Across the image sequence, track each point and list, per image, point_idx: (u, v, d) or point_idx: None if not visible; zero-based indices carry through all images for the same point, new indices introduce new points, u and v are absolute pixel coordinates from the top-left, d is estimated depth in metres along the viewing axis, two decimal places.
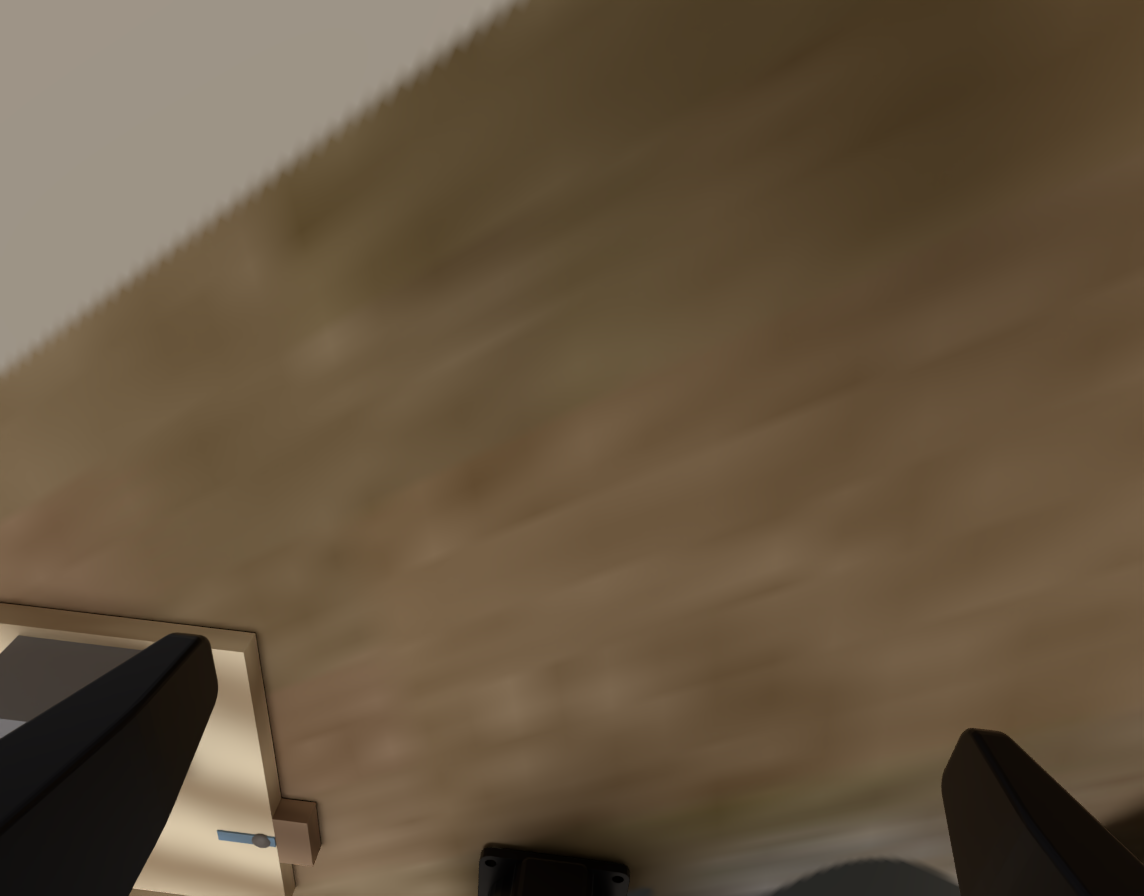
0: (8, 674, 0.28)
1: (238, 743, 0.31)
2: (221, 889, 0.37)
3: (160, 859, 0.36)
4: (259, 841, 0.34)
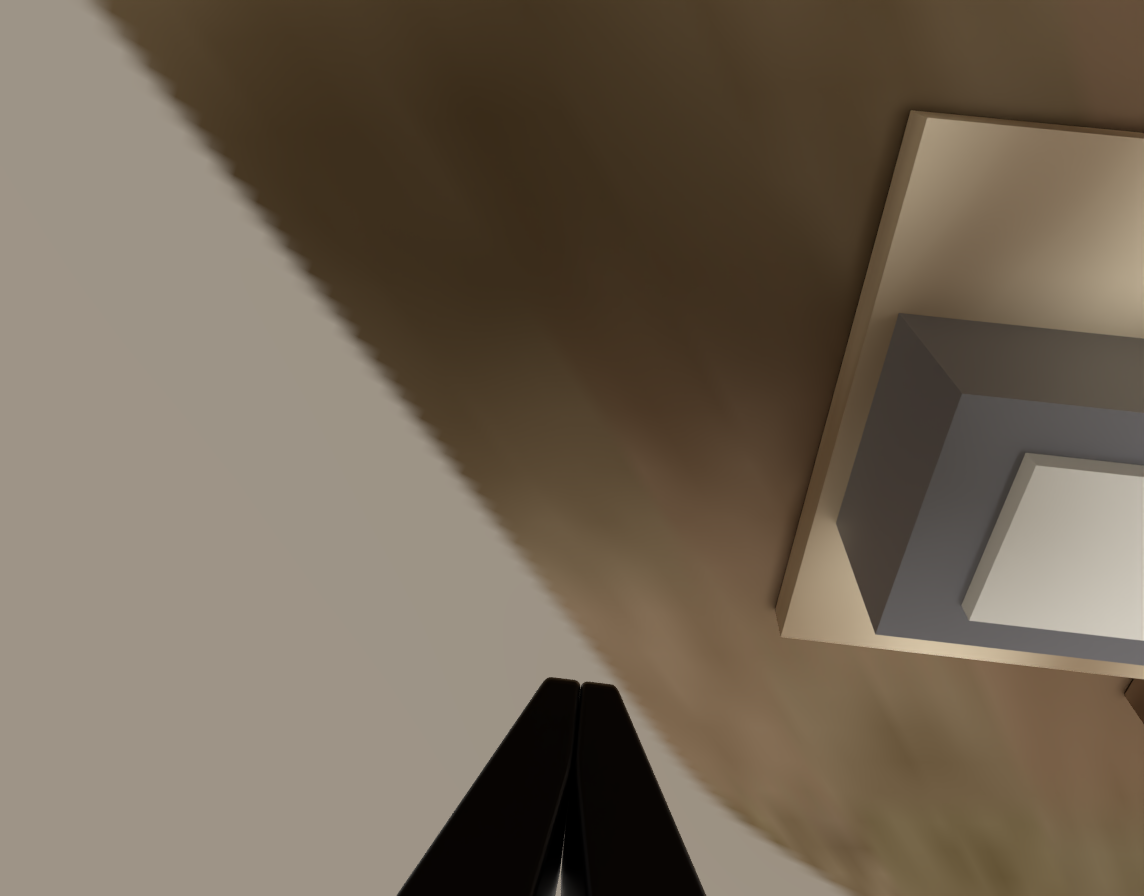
0: (865, 538, 0.16)
1: None
2: None
3: None
4: None
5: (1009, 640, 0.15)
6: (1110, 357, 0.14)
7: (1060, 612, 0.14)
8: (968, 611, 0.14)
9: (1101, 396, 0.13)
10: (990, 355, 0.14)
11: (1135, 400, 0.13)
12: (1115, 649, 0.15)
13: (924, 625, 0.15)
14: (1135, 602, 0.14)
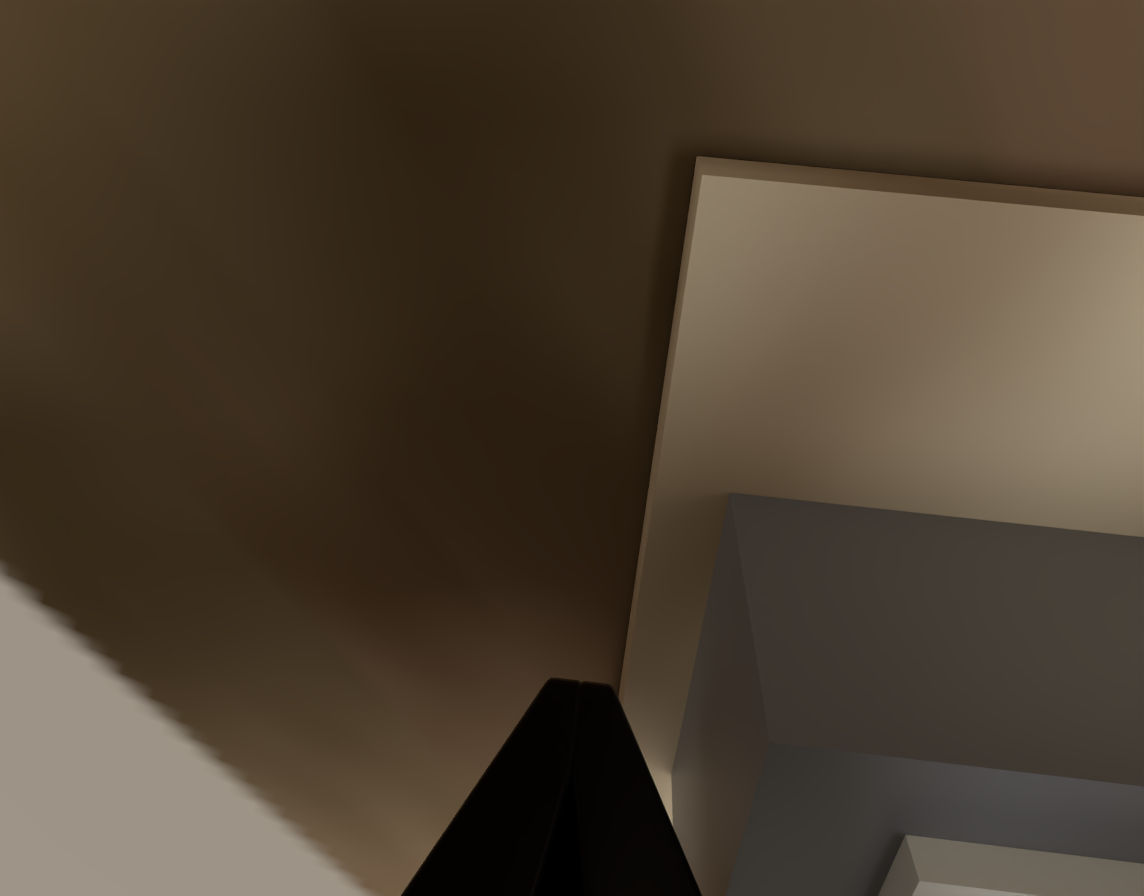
0: (684, 849, 0.10)
1: None
2: None
3: None
4: None
5: None
6: (1078, 596, 0.08)
7: None
8: None
9: (1052, 726, 0.07)
10: (859, 605, 0.08)
11: (1116, 737, 0.07)
12: None
13: None
14: None
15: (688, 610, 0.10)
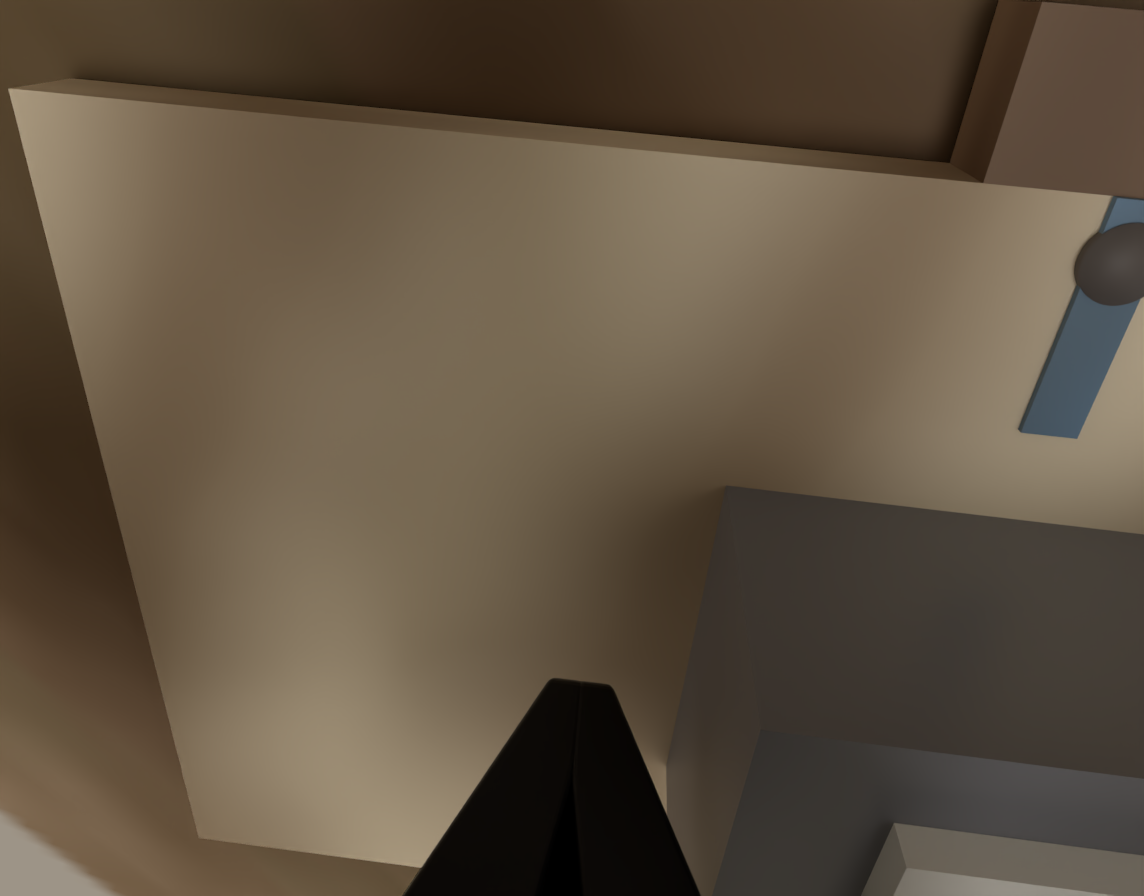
0: (678, 837, 0.10)
1: (505, 225, 0.08)
2: None
3: None
4: (1118, 270, 0.08)
5: None
6: (1070, 590, 0.08)
7: None
8: None
9: (1040, 717, 0.07)
10: (852, 597, 0.08)
11: (1104, 729, 0.07)
12: None
13: None
14: None
15: (168, 534, 0.11)
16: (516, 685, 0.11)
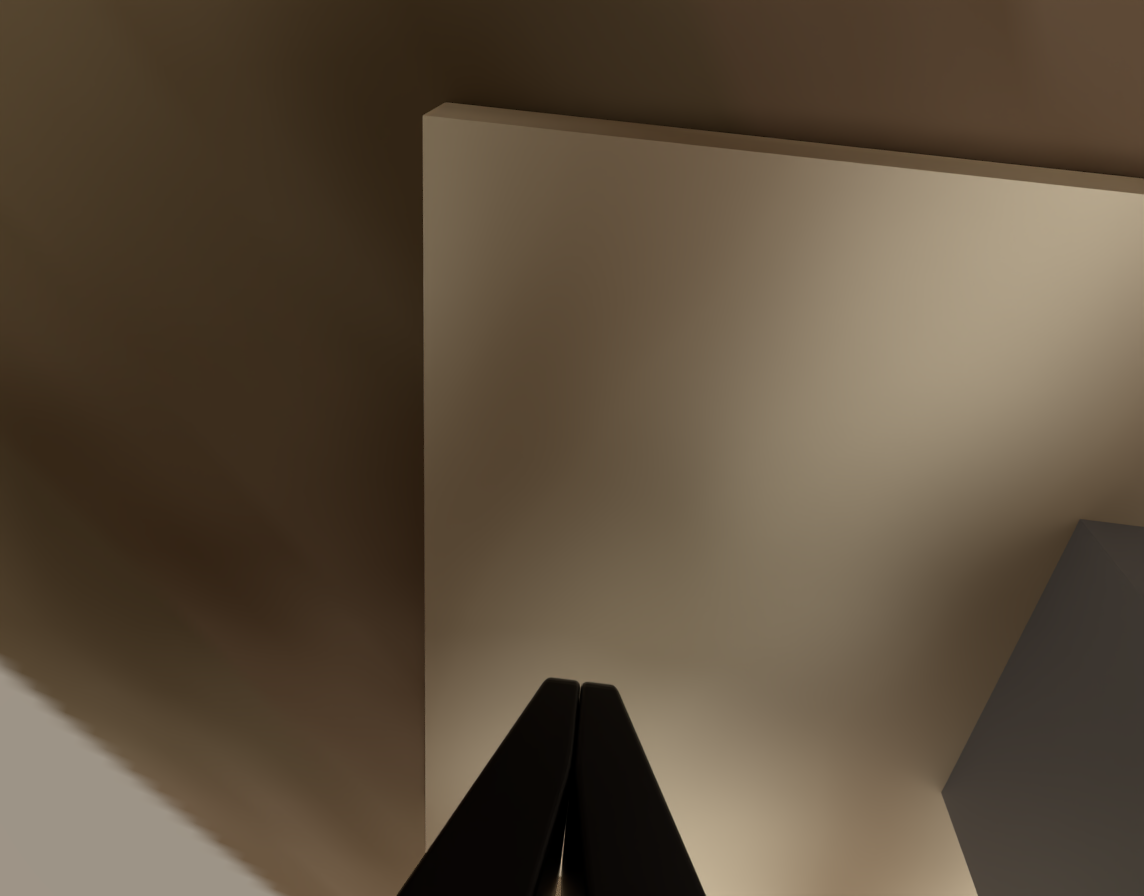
0: (1010, 871, 0.10)
1: (911, 259, 0.08)
2: None
3: None
4: None
5: None
6: None
7: None
8: None
9: None
10: None
11: None
12: None
13: None
14: None
15: (473, 559, 0.10)
16: (800, 711, 0.11)
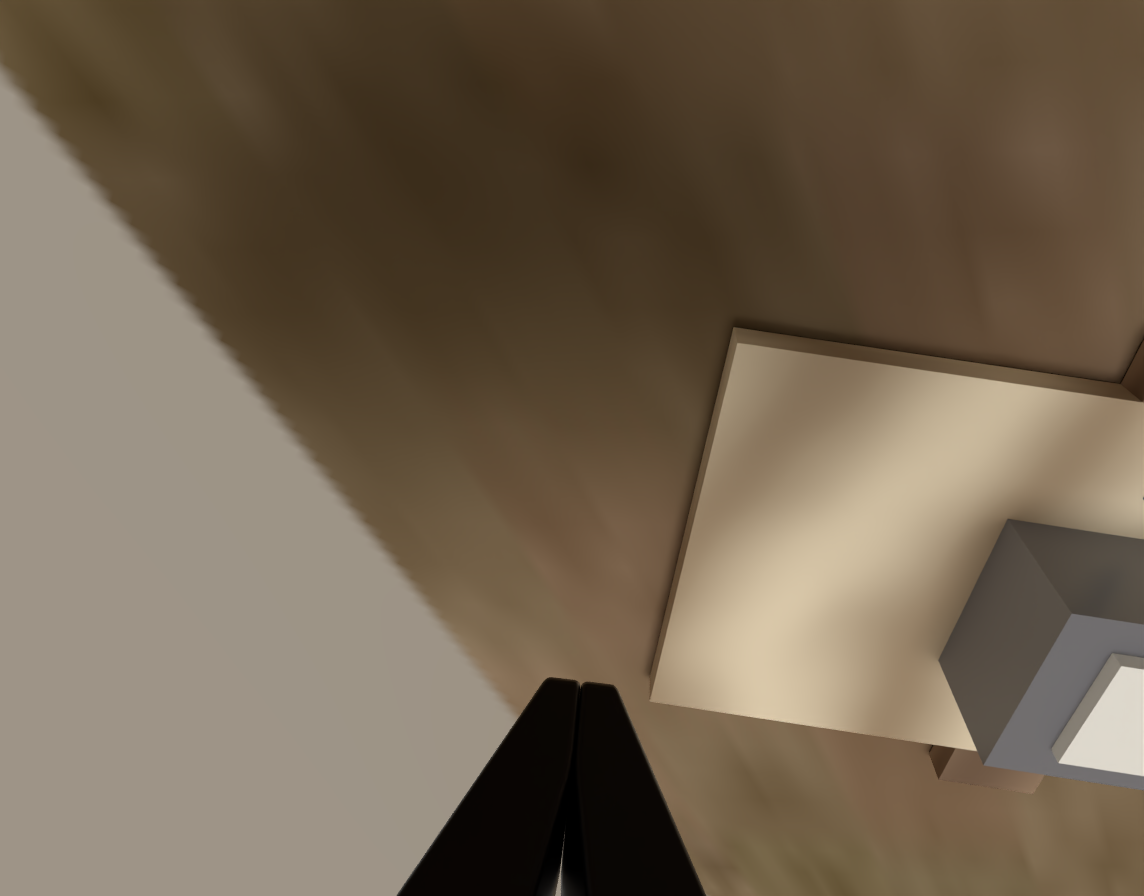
0: (971, 684, 0.21)
1: (936, 406, 0.19)
2: None
3: None
4: None
5: (1083, 774, 0.20)
6: None
7: (1126, 761, 0.19)
8: (1057, 755, 0.19)
9: None
10: (1083, 569, 0.19)
11: None
12: None
13: (1021, 761, 0.20)
14: None
15: (716, 531, 0.21)
16: (869, 614, 0.22)
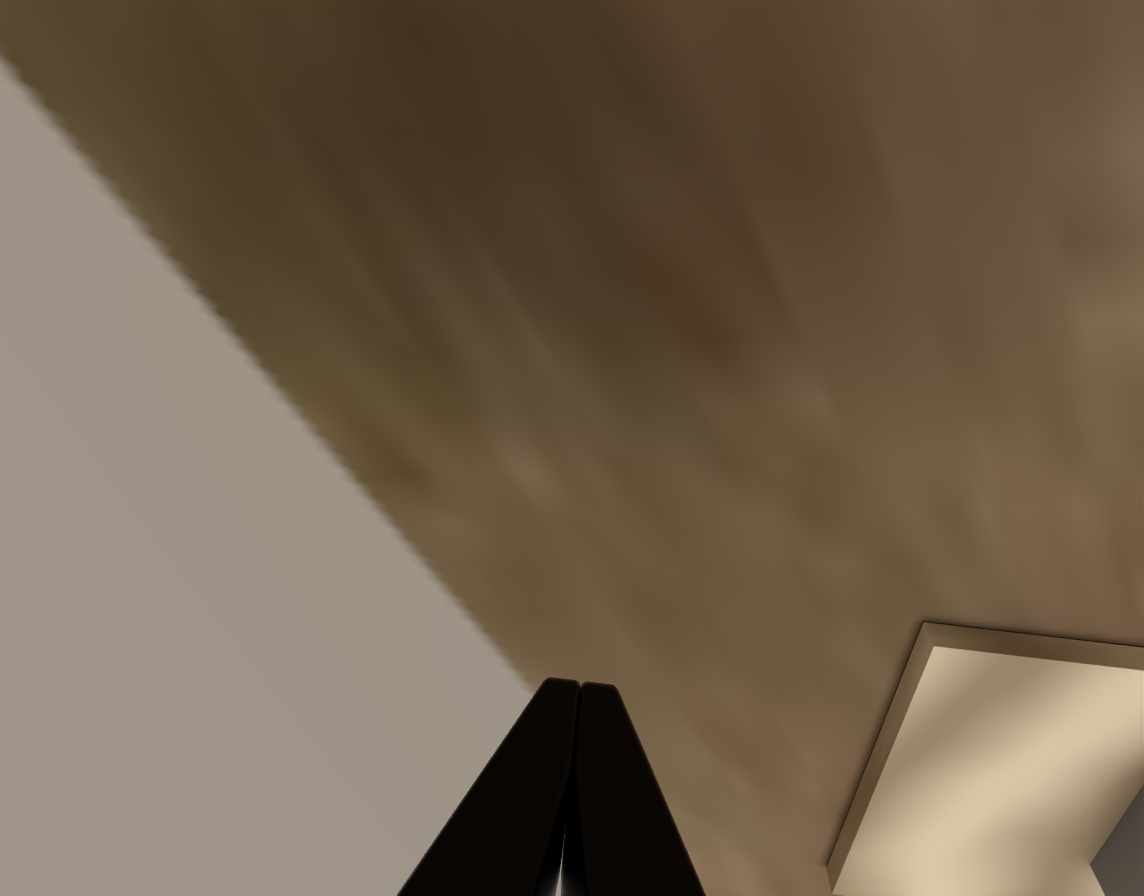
0: None
1: (1100, 689, 0.23)
2: None
3: None
4: None
5: None
6: None
7: None
8: None
9: None
10: None
11: None
12: None
13: None
14: None
15: (903, 773, 0.25)
16: (1031, 831, 0.26)
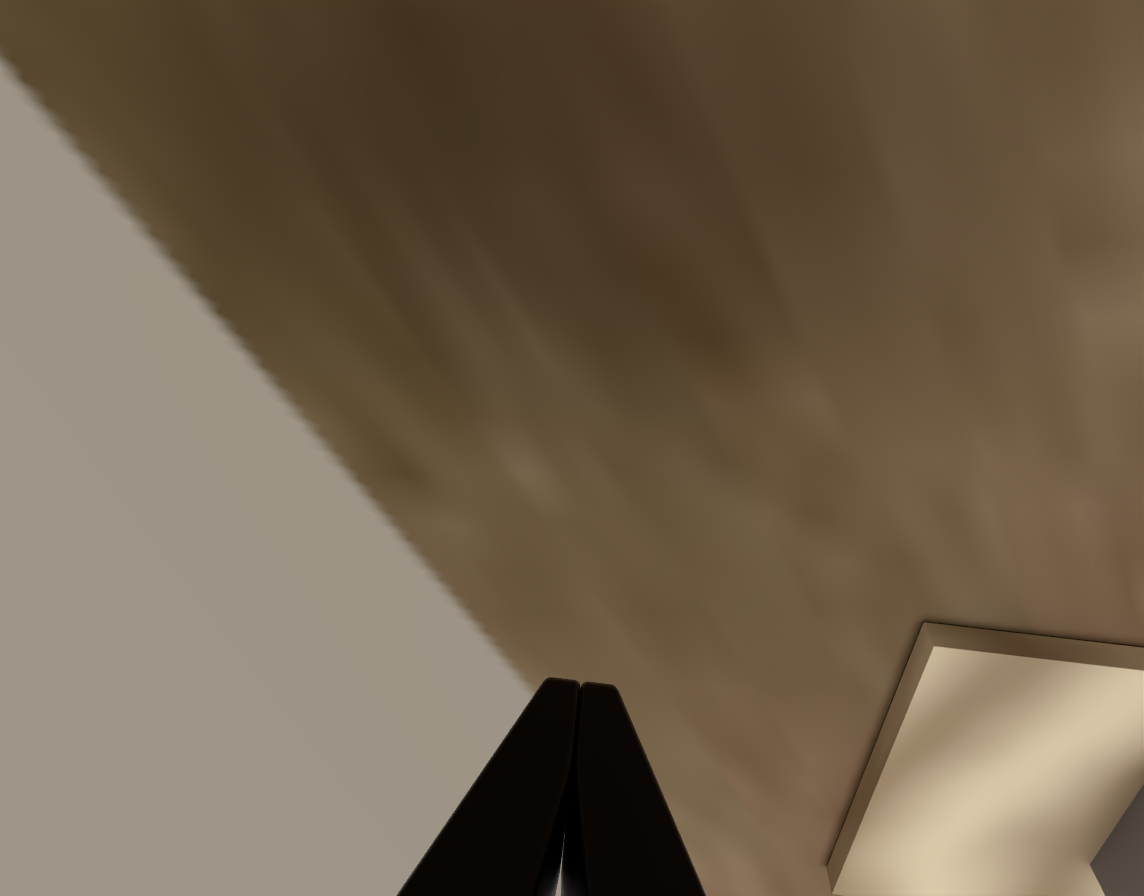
0: None
1: (1100, 689, 0.23)
2: None
3: None
4: None
5: None
6: None
7: None
8: None
9: None
10: None
11: None
12: None
13: None
14: None
15: (903, 773, 0.25)
16: (1031, 831, 0.26)
